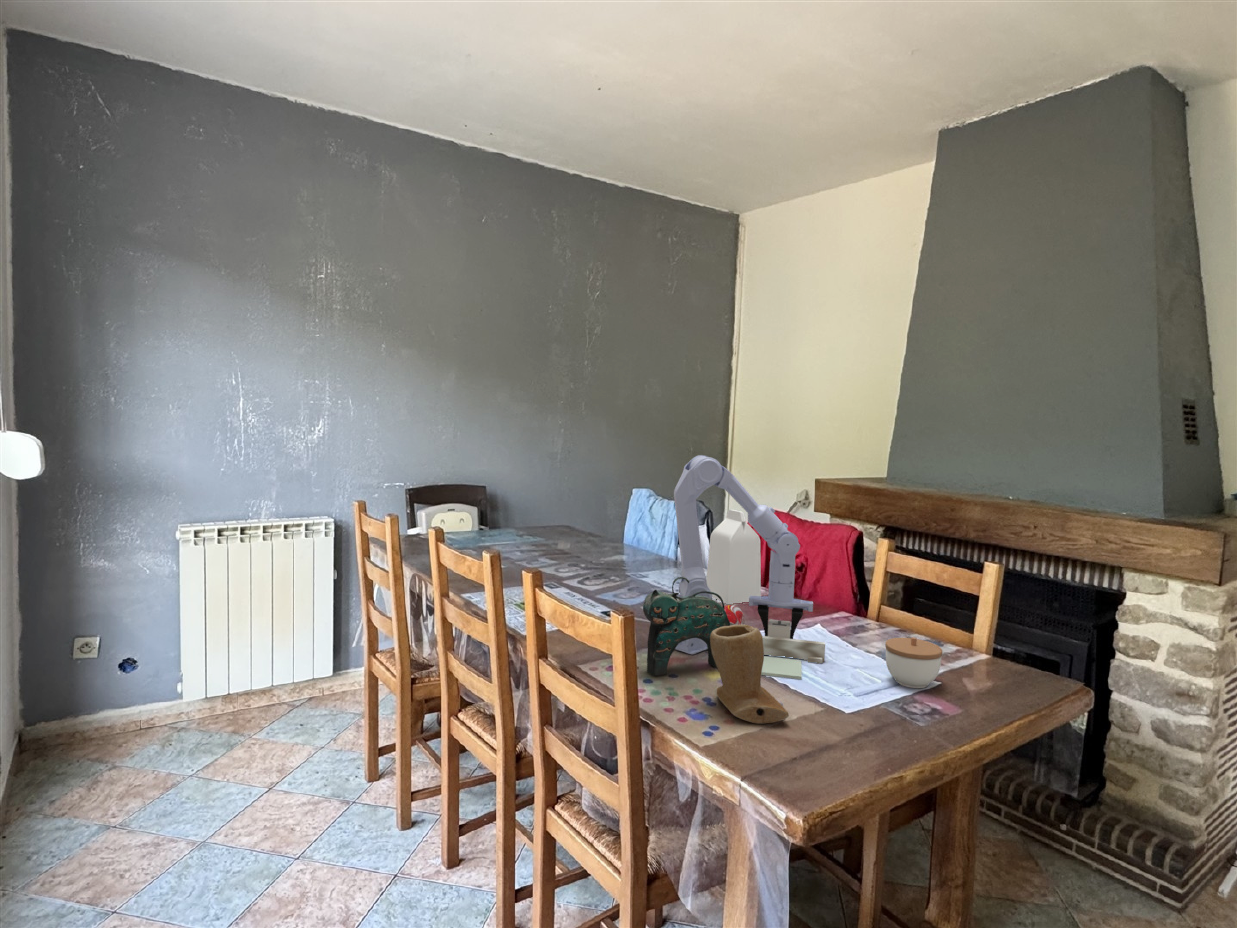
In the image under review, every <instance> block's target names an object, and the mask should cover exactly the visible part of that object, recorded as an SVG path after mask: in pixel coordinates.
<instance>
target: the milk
mask: <svg viewBox="0 0 1237 928" xmlns="http://www.w3.org/2000/svg"><path fill="white" fill-rule="evenodd" d="M758 534H759V533H758V532H757V531H756V530H755V529H754V528H752V526H751V525H749V524H748V523H747V520H746V516H745V511H740V510H736V509H732V508H731V509H727V513H726V517H725V518H724V519H723V520H722V521H721V522H720V523H719V524H718V525H717V526H716V527H715V528H714V529H713V530H712V532H711V534H710V538H709V550H708V559H707V569H706V582H707V586H708V588H709V589H710V590H711V592H714V593H717V594H718V595H719V596H720V597H721V598H722V600H723V602H724V603H726V604H733V603H742V602H749V596H762V593H761V592H762V591H761V590H762V589H761V588H762V583H761V582H762V581H761V580H762V579H761V568H762V567H761V563H762V562H761V561H762V560H761V558H762V557H761V539H760V535H758ZM712 597H713V598H715V599H717V600H719V601H718V602H720V601H721V600H720V599H719V598H718V597H717V596H716V595H713V594H712ZM713 598H712V599H713ZM715 599H714V600H715ZM717 600H716V601H717ZM726 604H725V605H726Z"/></svg>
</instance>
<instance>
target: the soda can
mask: <svg viewBox="0 0 1237 928" xmlns="http://www.w3.org/2000/svg"><path fill="white" fill-rule="evenodd" d="M724 607H725V609H724V610H725V612H726V614H727V617H728V619H729V622H730V626H731V625H746V624H745V622H746V619H745V615H744V613H743V611H742V610H741V608H740V607H738V606H737V605H735V604H734V605H726V604H725V605H724Z"/></svg>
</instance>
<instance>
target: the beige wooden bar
mask: <svg viewBox="0 0 1237 928" xmlns="http://www.w3.org/2000/svg"><path fill="white" fill-rule="evenodd" d="M762 638H763V648H764V655H771V656H770V657H772V656H785V657H793V658H799V659H804V660H803V661H807V663H809V662H817V663H816V664H819V663H822V664H823V663H825V658H826V657H825V656H826V642H825V641H815V640H807V639H806V640H804V639H796V638H795V639H794V638H793V639H788V638H778V637H768V636H765V635H762ZM799 659H798V660H799Z"/></svg>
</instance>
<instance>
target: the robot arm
mask: <svg viewBox="0 0 1237 928" xmlns="http://www.w3.org/2000/svg"><path fill="white" fill-rule="evenodd" d="M712 486H715V487H717V488H719V489H722V490H725V491H726V492H727V494H729V496H730V497H731V498H732V499H733V500H735V502H737V504H738V505H739V506H741V508H742V509H743V510H744V512H746V514H747V522H748V523H749V524H750V527H751V528H752V527H753V528H752V529H753V530H754V531H755V532H756V533H757V534H759V536H760V537H761V538H762V539H763V540H764V541H765V542H766V543H767V546H768V548H769V549H771V550H770V561H769V572H768V573H769V576H768V578H769V579H768V595H764V596H763V595H761V596H749V603H748V607H753V606H757V613H758V615H759V618H760V620H761V624H762V628H763V631H764V633H763V634H764V636H768V623H769V614H770V613H769V611H770V610H769V609H770V608H777V609H778V608H779V609H787V610H789V609H790V610H791V627H790V639H794V636H795V632H796V630H797V627H798V626H799V625H798V624H799V623H800V622H801V619H802V617H803V615H804V611H807V612H811V613H812V612H813V611H814V602H813V601H811V600H810V601H809V600H803V599H800V598H799V599H798V598H794V596H795V595H794V593H795V579H796V577H795V576H796V574H795V573H796V555H797V553H799V552H800V548H801V544H800V542H799V538H798V536H797V535H796V534H795V533H794V532H791V531H790V530H789V529H788V528H789V525H788V524H787V523H786V522H783V521H782V520H781V519H779V517H778V516H777V515H776V514H775V513H776V510H775V509H774V507H772V506H768V505H766V504H759V503H758V502H757V501H756V500H755V498H753V496H752V495H751V494H750V493H749V492H748V490H747V489H746V488H745V486H743V485H742V484H741V482H740V481H739V479H737V477H735V475H734V474H733V473H732V472H731V471H730V470H729V469H727V468H726V467H725V466H723V465H721V462H720V461H719V460H718V459H716V458H713V457H710V456H708V455H704V454H700V455H699V454H698V455H696V456H694V457H693V458H692V459H690V460H689V462H687V463H686V464H685V465H684V467H683V471H682V473H681V475H680V477H679V479H678V482H677V483H676V486H675V488H674V489H673V499H674V501H673V502H674V508H675V516H676V518H675V519H676V525H677V533H678V534H677V535H678V543H679V544H678V545H679V551H680V561H681V570H680V575H681V576H680V577H685V578H687V579H688V580H689V583H688V582H687V581H686V580H685V579H680V583H679V586H678V593H679V595H680V597H684V596H690V595H693V594H695V593H697V592H701V591H710V592H711V590H710V589H709V588H708V586H707V582H706V579H707V575H706V573H705V569H704V565H703V564H704V563H703V555H702V546H701V538H700V537H701V536H700V529H699V519H698V517H699V516H698V510H697V508H698V507H697V501H696V500H697V499H698V498H699V497H700V496H701V495H702V494H703V493H704V491H706V490H707V489H709V488H711V487H712ZM697 596H704V597H708V598H710V599H712V600H713V598H712V594H708V593H700V594H697ZM675 650H676V651H680V652H681V653H682V652H683V653H685V654H688V655H695V654H698V653H700V652H703V651H707V650H708V648H707V644H706V643H705V642H704V641H703V640H701V639H699V638H691V639H688V640H685V641H682V642H681V643H679V644H678V645H677V647H676V648H675Z"/></svg>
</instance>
